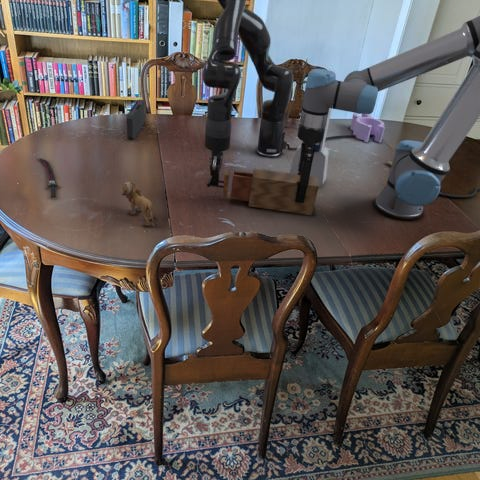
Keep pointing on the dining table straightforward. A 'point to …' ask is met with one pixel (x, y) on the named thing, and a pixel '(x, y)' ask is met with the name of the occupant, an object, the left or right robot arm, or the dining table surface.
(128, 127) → the handheld gaming console
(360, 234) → the dining table surface
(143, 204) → the lion figurine
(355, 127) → the clip
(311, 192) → the cabinet
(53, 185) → the sword
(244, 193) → the drawer
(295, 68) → the miniature windmill
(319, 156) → the electronic device
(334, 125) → the dining table surface
